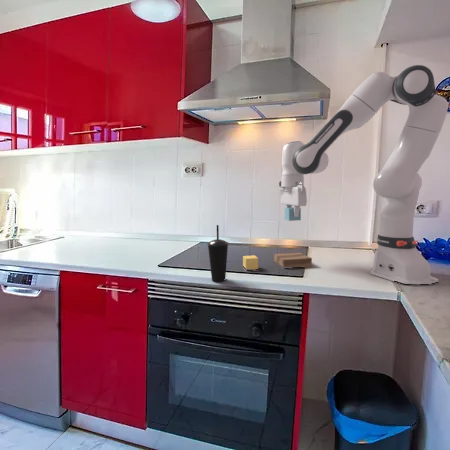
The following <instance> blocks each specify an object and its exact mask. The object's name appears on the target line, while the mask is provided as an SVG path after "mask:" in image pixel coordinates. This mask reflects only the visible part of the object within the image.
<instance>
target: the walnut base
mask: <svg viewBox="0 0 450 450" xmlns="http://www.w3.org/2000/svg"><path fill="white" fill-rule="evenodd" d="M274 261H275V262H276V263H278V264H279V265H281V266H283V267H302V266H304V268H312V258H311V257H310V256H307V255H306V254H304V253H302V252H300V251H298V252H284V253H283V252H282V253H280V252H279V253H273V262H274ZM275 262H274V263H275ZM276 263H275V264H276ZM278 264H277V265H278ZM279 265H278V266H279Z"/></svg>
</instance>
